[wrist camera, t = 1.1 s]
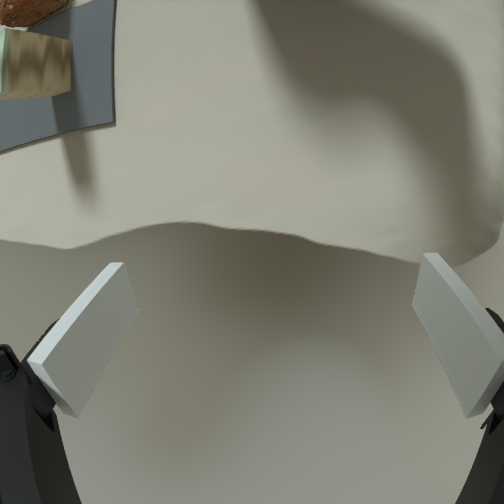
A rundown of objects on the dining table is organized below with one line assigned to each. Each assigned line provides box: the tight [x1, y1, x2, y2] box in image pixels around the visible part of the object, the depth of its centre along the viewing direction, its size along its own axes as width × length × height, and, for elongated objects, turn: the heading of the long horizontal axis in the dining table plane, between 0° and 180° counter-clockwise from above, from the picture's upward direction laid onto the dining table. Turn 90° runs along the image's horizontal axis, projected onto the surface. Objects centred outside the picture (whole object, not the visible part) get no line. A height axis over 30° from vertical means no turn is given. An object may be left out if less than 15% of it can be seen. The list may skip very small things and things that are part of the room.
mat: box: [0, 0, 116, 151], centre depth 32 cm, size 20×28×1 cm
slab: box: [0, 28, 72, 100], centre depth 25 cm, size 8×4×14 cm, turn 1°
